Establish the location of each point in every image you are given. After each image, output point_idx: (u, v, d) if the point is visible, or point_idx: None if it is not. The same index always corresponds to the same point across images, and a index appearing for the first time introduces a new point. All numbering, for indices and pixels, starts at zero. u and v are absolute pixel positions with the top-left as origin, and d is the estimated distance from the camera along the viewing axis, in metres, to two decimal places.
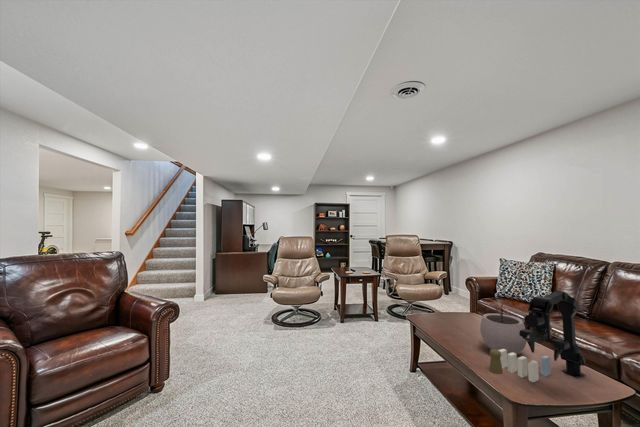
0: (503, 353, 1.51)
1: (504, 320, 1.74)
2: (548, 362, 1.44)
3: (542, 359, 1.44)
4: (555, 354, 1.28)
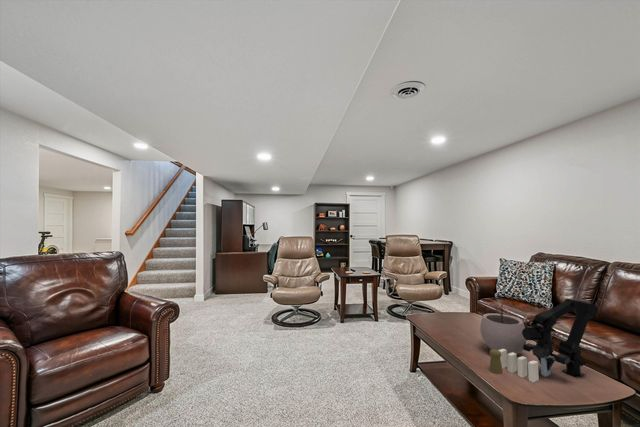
0: (503, 353, 1.51)
1: (504, 320, 1.74)
2: None
3: (542, 359, 1.44)
4: (548, 365, 1.42)
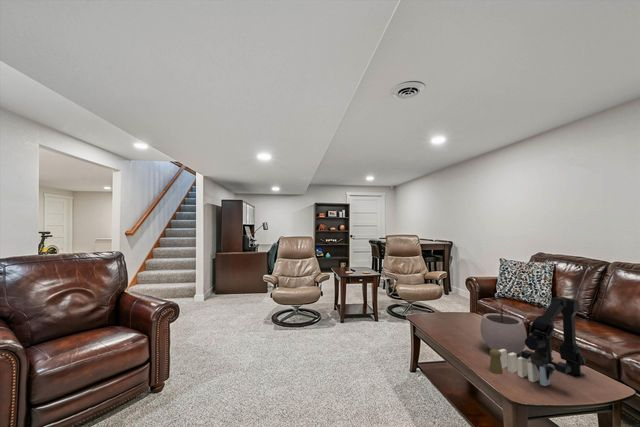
0: (503, 353, 1.51)
1: (504, 320, 1.74)
2: None
3: (541, 367, 1.34)
4: (547, 373, 1.32)
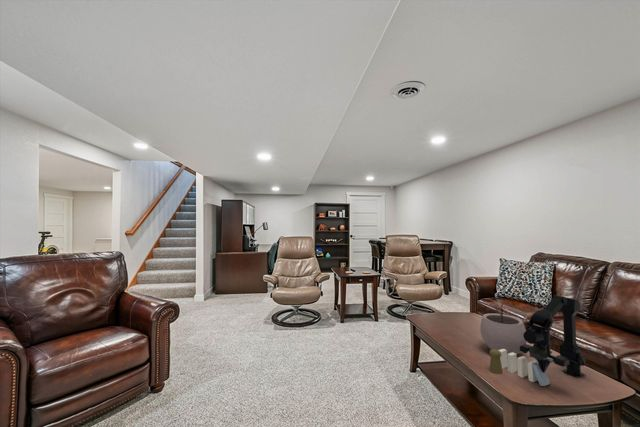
0: (503, 353, 1.51)
1: (504, 320, 1.74)
2: None
3: (534, 367, 1.36)
4: (544, 366, 1.34)
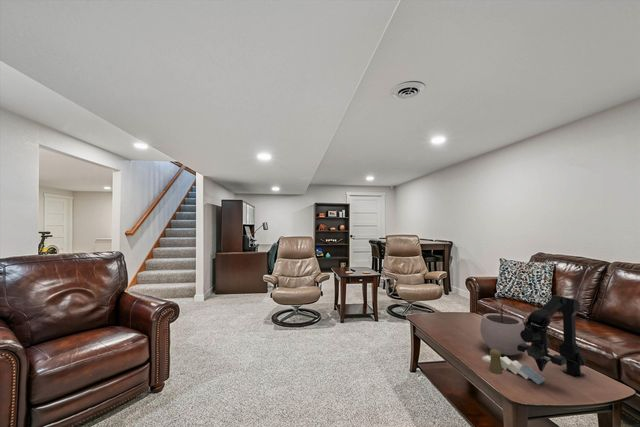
0: (486, 357, 1.60)
1: (504, 320, 1.74)
2: (529, 369, 1.41)
3: (521, 369, 1.41)
4: (541, 365, 1.35)
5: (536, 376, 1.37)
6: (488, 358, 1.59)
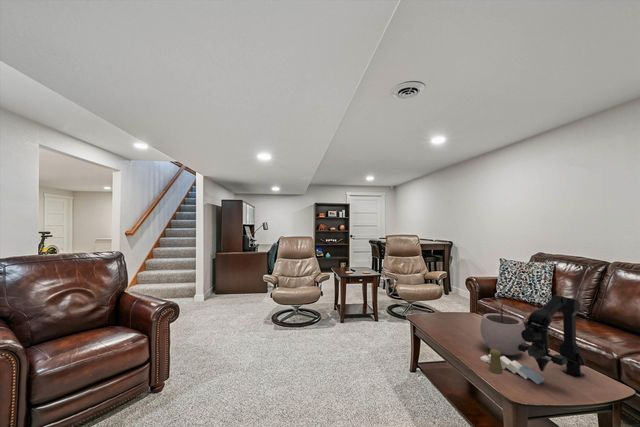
0: (484, 357, 1.60)
1: (504, 320, 1.74)
2: (528, 369, 1.41)
3: (521, 369, 1.42)
4: (542, 365, 1.35)
5: (535, 376, 1.37)
6: (486, 358, 1.59)
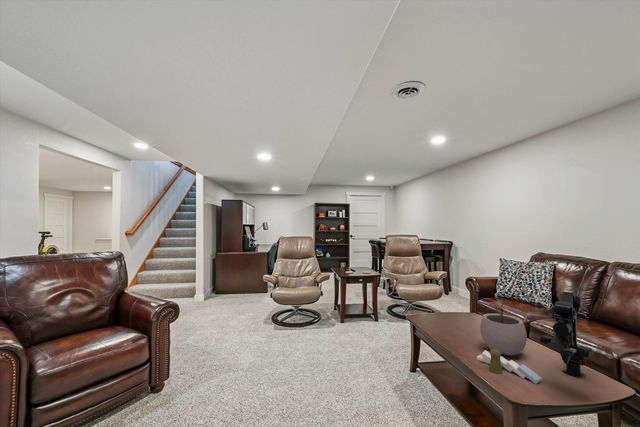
0: (480, 356, 1.61)
1: (504, 320, 1.74)
2: (526, 368, 1.42)
3: (518, 369, 1.42)
4: (566, 357, 1.29)
5: (533, 375, 1.38)
6: (482, 357, 1.60)
